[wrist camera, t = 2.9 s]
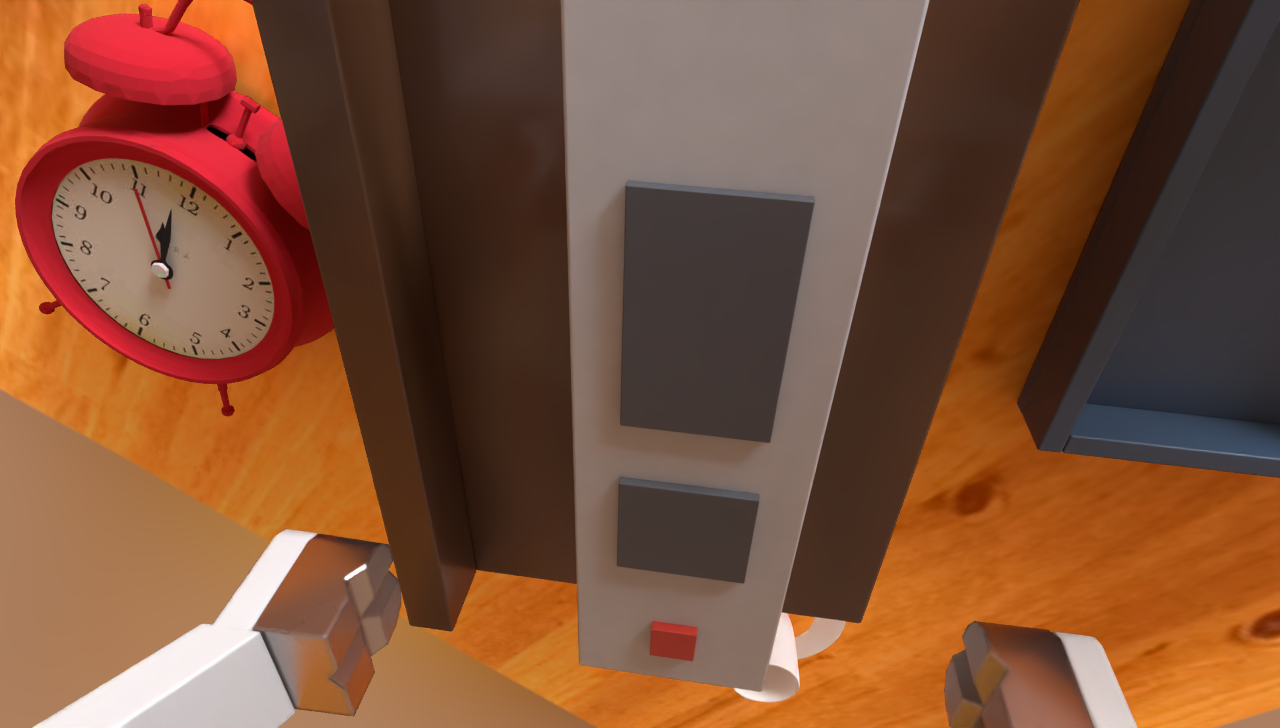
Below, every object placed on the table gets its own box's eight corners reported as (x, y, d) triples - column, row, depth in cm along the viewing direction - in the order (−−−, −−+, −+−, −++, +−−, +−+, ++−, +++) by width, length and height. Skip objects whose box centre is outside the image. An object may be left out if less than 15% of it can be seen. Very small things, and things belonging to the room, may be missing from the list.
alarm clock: (-17, 304, 26) (-84, -61, 16) (113, 206, 30) (129, -134, 20) (254, 453, 29) (354, 227, 18) (340, 344, 33) (461, 109, 22)
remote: (603, -69, 11) (554, -39, 9) (898, -53, 11) (939, -16, 8) (601, 566, 20) (576, 674, 17) (763, 587, 20) (762, 702, 17)
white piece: (764, 519, 33) (765, 595, 30) (893, 599, 35) (907, 679, 32) (651, 605, 38) (640, 679, 34) (770, 671, 40) (771, 747, 36)
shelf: (966, -144, 18) (1196, -117, 8) (834, 398, 28) (869, 694, 18) (490, -165, 19) (208, -162, 9) (527, 364, 29) (409, 625, 19)
